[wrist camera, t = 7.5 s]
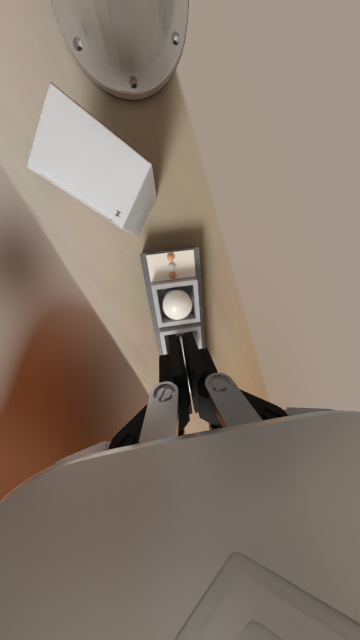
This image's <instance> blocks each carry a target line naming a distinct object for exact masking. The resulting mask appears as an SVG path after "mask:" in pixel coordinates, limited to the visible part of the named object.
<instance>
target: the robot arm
mask: <svg viewBox="0 0 360 640" xmlns="http://www.w3.org/2000/svg"><path fill="white" fill-rule="evenodd" d="M51 3H52V6H53V9H54V13H55V16H56V19H57V22H58V24H59V26H60V29H61V31H62V33H63V36H64V38H65V40H66V42H67V44H68V46H69V48H70V50H71V52H72V54H73V56H74V57H75V59H76V60H77V62H78V63H79V65H80V66H81V68H82V69H83V70H84V72H85V73H86V74H87V75H88V76H89V77H90V78H91V79H92V80H93V81H94V82H95V83H96V84H97V85H98V86H100V87H101V88H102V89H103V90H105V91H106V92H108V93H110V94H112V95H114V96H116V97H119V98H123V99H127V100H140V99H143V98H147V97H150V96H151V95H153V94H155V93H156V92H158V91H159V90H160V89H161V88H162V87H163V86H164V85H165V84H166V83H167V82H168V81H169V79H170V78H171V76H172V75H173V73H174V72H175V70H176V67H177V65H178V63H179V60H180V58H181V55H182V51H183V47H184V43H185V37H186V30H187V23H188V8H189V0H51ZM133 87H136V88H135V89H134V88H133ZM168 340H169V350H170V354H165V355H160V356H159V384H157V385H156V386H154V387H153V389H152V390H151V393H150V396H149V401H148V404H147V405H146V406H145V407H144V408H143V409H142V410H141V411H140V412H139V413H138V414H137V415H136V416H135V417H134V418H133V419H132V420H131V421H130V422H129V423H128V424H127V425H125V427H123V428H122V429H121V430H120V431H119V432H118V434H116V435H115V437H114V438H113V439H112V441H110V442H108V443H107V442H106V441H104V442H101V443H99V444H96V445H94V446H92V447H89V448H87V449H84V450H82V451H79V452H77V453H75V454H72V455H70V456H68V457H65V458H63V459H61V460H59V461H58V462H56V463H55V464H54V465H53V466H52V467H50V468H48V469H45V470H44V471H42V472H40V473H38V474H36V475H35V476H33V477H31V478H29V479H28V480H26V481H25V482H23V483H22V484H20V485H19V486H18V487H16V488H15V489H14V490H12V491H11V492H10V493H9V494H8V495H7V496H6V497H4V498H3V499H2V500H1V502H0V640H360V412H355V411H342V410H340V411H339V410H338V411H335V410H331V409H315V408H289V407H287V408H286V410H283V409H281V408H280V407H278V406H276V405H274V404H272V403H270V402H267V401H265V400H263V399H260V398H258V397H256V396H254V395H251V394H249V393H247V392H244V391H242V390H240V389H239V388H238V387H237V385H236V384H235V383H234V381H233V380H232V379H231V378H230V377H229V376H228V375H226V374H223V373H218V372H217V369H216V367H215V365H214V363H213V360H212V358H211V356H210V354H209V351H208V349H207V348H202V349H198V346H197V343H196V341H195V338H194V335H193V332H192V331H191V332H184V335H182V342H183V350H184V356H183V351H182V346H181V342H180V337H179V336H176V334H172V335H168ZM184 357H185V361H184ZM185 365H186V366H185ZM188 381H189V384H188ZM189 385H190V390H191V395H192V400H193V405H194V409H195V413H198V412H199V416H200V418H202V419H203V420H205V421H207V422H208V426H209V429H210V430H208V431H203V432H198V433H192V434H187V435H185V426H186V425H187V423H188V422H189V421H190V418H189V414H192V407H191V399H190V391H189Z"/></svg>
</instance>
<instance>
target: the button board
mask: <svg viewBox="0 0 360 640" xmlns="http://www.w3.org/2000/svg"><path fill="white" fill-rule="evenodd" d="M140 258H141V263H142V268H143V274H144V279H145V284H146V289H147V295H148V300H149V305H150V310H151V316H152V321H153V326H154V331H155V337H156V342H157V347H158V352H159V356H160V355H165V354H170V350H169V340H168V335H172V334H176V336H179V337H182V335H184V332H191V331H192V332H193V335H194V338H195V341H196V343H197V346H198V349H202V348H205V337H204V320H203V303H202V286H201V269H200V252H199V247H190V248H182V249H174V250H166V251H157V252H149V253H142V254H140ZM174 288H179V289H182V290H184V291H185V292H186V293H187V294H188V296H189V297H190V299H191V302H192V309H191V311H190V313H189V314H188V315H187V316H186V317H185V318H183V319H179V320H175V319H171V318H169V317H168V316H167V315H166V314H165V313H164V310H163V297H164V295H165V294H166V292H168V291H169V290H171V289H174ZM190 394H191V392H190Z"/></svg>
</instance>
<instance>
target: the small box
mask: <svg viewBox="0 0 360 640" xmlns="http://www.w3.org/2000/svg"><path fill="white" fill-rule="evenodd" d="M27 167H28V168H29V169H30V170H32V171H34V172H36V173H37V174H39V175H40V176H42V177H44V178H45V179H47V180H49V181H50V182H52V183H53V184H55V185H56V186H58V187H60V188H61V189H63V190H64V191H66V192H67V193H69V194H70V195H72V196H73V197H75V198H76V199H78V200H80V201H81V202H83V203H84V204H86V205H87V206H89V207H90V208H92V209H93V210H95V211H96V212H98V213H99V214H101V215H102V216H104V217H105V218H107V219H108V220H110V221H111V222H112V223H114V224H115V225H117V226H118V227H119V228H121V229H123V230H126V231H128V232H130V233H133V234H136V235H138V234H139V231H140V229H141V227H142V225H143V224H144V222H145V220H146V218H147V216H148V214H149V212H150V210H151V208H152V206H153V204H154V202H155V200H156V189H155V183H154V175H153V168H152V163H151V162H149V161H148V160H147V159H145V158H144V157H143V156H142V155H141V154H139V153H138V152H137V151H136V150H134V149H133V148H132V147H131V146H129V145H128V144H127V143H126V142H124V141H123V140H122V139H121V138H119V137H118V136H117V135H116V134H114V133H113V132H112V131H111V130H109V129H108V128H107V127H106V126H105V125H103V124H102V123H101V122H100V121H98V120H97V119H96V118H95V117H93V116H92V115H91V114H90V113H88V112H87V111H86V110H85V109H83V108H82V107H81V106H80V105H79V104H77V103H76V102H75V101H74V100H72V99H71V98H70V97H69V96H67V95H66V94H65V93H64V92H62V91H61V90H60V89H59V88H57V87H56V86H55V85H54V84H53V83H52V82H51V83H50V84H49V88H48V91H47V94H46V98H45V101H44V105H43V109H42V112H41V116H40V119H39V123H38V127H37V130H36V134H35V137H34V141H33V144H32V148H31V151H30V155H29V158H28V161H27Z"/></svg>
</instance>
